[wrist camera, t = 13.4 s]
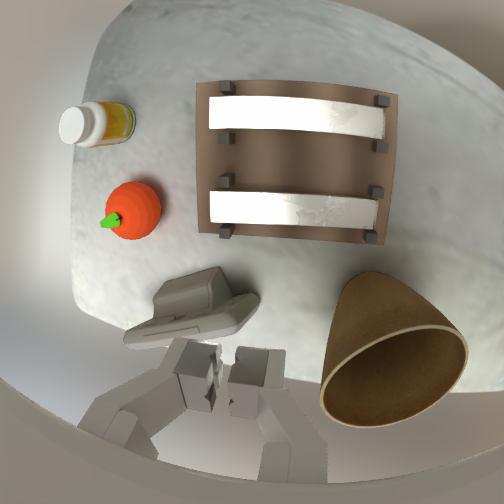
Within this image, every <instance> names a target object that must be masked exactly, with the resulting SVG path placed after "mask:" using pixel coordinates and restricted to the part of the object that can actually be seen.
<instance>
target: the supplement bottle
mask: <svg viewBox="0 0 504 504" xmlns="http://www.w3.org/2000/svg"><path fill="white" fill-rule="evenodd" d="M134 126H135V115H134V113H133V111H132V109H131V108H130V107H129V106H127V105H124V104H118V103H108V102H96V101H90V102H86V103H83V104H82V105H80V106H78V107H71V108H69V109H67V110H66V111H65V112H64V113H63V115H62V117H61V119H60V123H59V134H60V137H61V139H62V140H63V142H65V143H67V144H76V145H78V146H79V147H82V148H91V147H98V146H105V145H113V144H119V143H122V142H124V141H126V140H127V139H128V138H129V137H130V136H131V134H132V132H133V129H134Z"/></svg>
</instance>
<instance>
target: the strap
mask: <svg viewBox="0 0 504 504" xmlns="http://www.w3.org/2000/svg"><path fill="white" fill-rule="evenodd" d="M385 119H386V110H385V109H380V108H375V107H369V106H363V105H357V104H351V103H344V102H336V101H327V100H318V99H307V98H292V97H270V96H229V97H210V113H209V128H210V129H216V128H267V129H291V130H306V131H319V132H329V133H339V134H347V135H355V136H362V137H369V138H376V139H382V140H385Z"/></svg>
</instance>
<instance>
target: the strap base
mask: <svg viewBox="0 0 504 504" xmlns="http://www.w3.org/2000/svg"><path fill="white" fill-rule="evenodd" d="M229 96H270V97H292V98H307V99H318V100H327V101H336V102H344V103H351V104H357V105H363V106H369V107H375V108H380V109H385V110H386V119H385V140H382V139H376V138H369V137H362V136H355V135H347V134H339V133H329V132H319V131H306V130H291V129H267V128H216V129H210V128H209V113H210V97H229ZM397 119H398V95H396V94H392V93H387V92H382V91H376V90H371V89H365V88H359V87H352V86H345V85H337V84H328V83H317V82H304V81H285V80H237V81H230V80H225V81H218V82H205V83H196V178H197V207H198V228H199V233H215V234H219V238H223V239H230V237H231V236H232V234H233V235H249V236H265V237H280V238H295V239H309V240H323V241H336V242H349V243H362V244H374V245H383V244H384V239H385V234H386V228H387V222H388V215H389V209H390V202H391V194H392V186H393V177H394V167H395V156H396V141H397ZM211 190H241V191H275V192H296V193H314V194H329V195H342V196H354V197H365V198H375V199H379V204H378V212H377V218H376V225H375V229H359V228H343V227H325V226H306V225H284V224H258V223H226V222H211V210H210V191H211Z"/></svg>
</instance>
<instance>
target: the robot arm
mask: <svg viewBox="0 0 504 504" xmlns="http://www.w3.org/2000/svg"><path fill="white" fill-rule="evenodd" d="M221 353H222V349H221V344H219V343H213V342H207V341H201V340H196V339H188V338H183V337H178V336H177V337H175V338H174V339H173V340H172V342H171V344H170V346H169V348H168V350H167V351H166V353H165V355H164V357H163V358H162V360H161V362H160V364H159V366H158V367H157V369H150V370H148V371H147V372H145V373H143V374H141V375H139V376H137V377H135V378H133V379H132V380H130V381H128V382H126V383H124V384H122V385H120V386H118V387H116V388H114V389H112V390H110V391H108V392H106V393H104V394H102V395H100V396H98V397H96V398H95V400H94V401H93V403H92V404H91V406H90V407H89V409H88V410H87V412H86V413H85V415H84V416H83V418H82V420H81V421H80V423H79V424H78V426H77V427H76V426H74V425H73V424H70V423H69V422H67V421H65V420H63V419H62V418H60V417H57V416H56V415H55V414H53V413H51V412H49V411H48V410H46V409H44V408H43V407H41V406H40V405H38V404H37V403H35V402H33V401H32V400H30V399H29V398H27V397H26V396H25V395H23V394H22V393H20V392H19V391H17V390H16V389H15V388H13V387H12V386H11V385H9V384H8V383H7V382H5V381H4V380H3V379H1V378H0V504H504V444H502V445H499V446H497V447H495V448H492V449H490V450H488V451H485V452H482V453H480V454H477V455H475V456H472V457H469V458H466V459H463V460H460V461H457V462H454V463H452V464H448V465H444V466H441V467H438V468H433V469H430V470H426V471H421V472H417V473H412V474H408V475H402V476H397V477H391V478H385V479H377V480H370V481H359V482H348V483H327V465H328V464H327V463H328V462H327V459H328V457H327V455H328V453H327V442H326V441H325V439H324V438H323V437H322V435H321V434H320V433H319V431H318V430H317V429H316V428H315V426H314V425H313V423H312V422H311V421H310V419H309V418H308V417H307V415H306V414H305V413H304V412H303V410H302V409H301V407H300V406H299V405H298V403H297V402H296V400H295V399H294V398H293V396H292V395H291V393H290V392H289V391H288V390H287V389H283V379H284V369H285V356H286V351H285V350H281V349H270V350H269V349H266V348H255V347H245V346H238V347H237V350H236V353H235V363H234V364H233V365H232V367H231V371H230V375H229V379H228V396H229V397H230V398H231V399H230V403H229V408H230V416H233V417H240V418H246V419H253V420H256V422H257V424H258V426H259V428H260V430H261V432H262V434H263V436H264V438H265V440H266V442H267V443H266V444H265V445H264V447H263V452H262V458H261V464H260V469H259V475H258V479H257V481H255V480H247V479H240V478H233V477H227V476H221V475H215V474H211V473H206V472H201V471H197V470H193V469H189V468H185V467H181V466H177V465H173V464H170V463H166V462H163V461H160V460H157V456H158V454H159V453H158V452H157V450H156V448H155V446H154V445H153V443H152V442H151V440H150V438H151V437H152V436H153V435H155V434H156V433H157V432H159V431H160V430H162V429H163V428H164V427H165V426H167V425H168V424H169V423H170V422H172V421H173V420H174V419H176V418H177V417H178V416H179V415H180V414H182V413H183V412H184V411H186V408H187V409H192V410H198V411H203V412H209V413H211V412H212V410H213V407H214V403H215V400H216V391H215V390H216V389H218V388H219V387H220V384H221V380H222V374H223V361H222V360H221V359H220V356H221Z"/></svg>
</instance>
